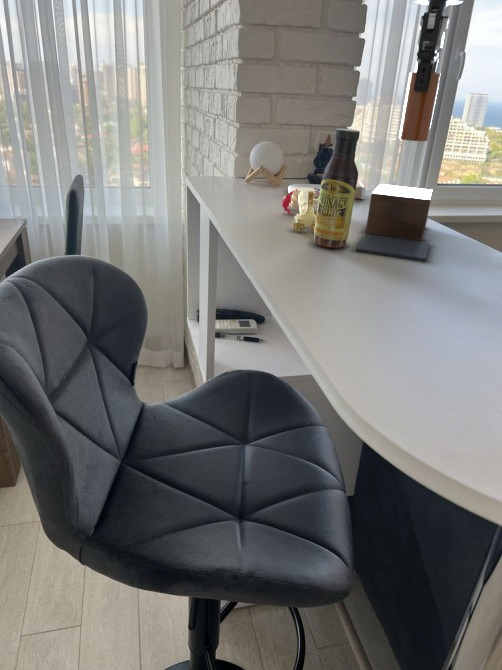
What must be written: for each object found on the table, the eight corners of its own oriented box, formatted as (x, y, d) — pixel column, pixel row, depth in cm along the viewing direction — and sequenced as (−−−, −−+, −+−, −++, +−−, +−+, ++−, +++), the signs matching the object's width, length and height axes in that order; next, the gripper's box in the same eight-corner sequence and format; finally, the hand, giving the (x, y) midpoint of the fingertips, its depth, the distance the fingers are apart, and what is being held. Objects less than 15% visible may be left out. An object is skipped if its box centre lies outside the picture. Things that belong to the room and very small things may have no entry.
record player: (366, 188, 131) (289, 184, 131) (364, 200, 132) (288, 196, 133) (359, 180, 141) (288, 177, 142) (358, 192, 143) (287, 188, 143)
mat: (428, 245, 96) (429, 243, 96) (425, 261, 87) (425, 258, 87) (365, 236, 100) (366, 234, 100) (356, 251, 90) (356, 248, 90)
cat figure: (331, 239, 101) (322, 203, 122) (337, 196, 96) (326, 166, 118) (281, 236, 101) (281, 200, 122) (285, 193, 96) (284, 163, 118)
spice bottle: (428, 139, 87) (443, 60, 81) (426, 141, 83) (442, 58, 77) (400, 137, 88) (413, 59, 83) (397, 139, 84) (410, 57, 79)
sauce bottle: (307, 245, 92) (319, 128, 83) (319, 238, 97) (332, 126, 88) (342, 252, 89) (358, 131, 81) (352, 244, 94) (369, 130, 86)
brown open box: (425, 227, 109) (432, 189, 105) (421, 241, 99) (430, 199, 95) (373, 221, 112) (379, 184, 109) (365, 233, 102) (371, 193, 98)
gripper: (472, -48, 67) (444, 93, 75) (471, -26, 80) (447, 93, 87) (414, -47, 70) (393, 90, 77) (421, -26, 82) (402, 91, 89)
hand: (421, 91), depth 82 cm, fingers closed on spice bottle, 4 cm apart
